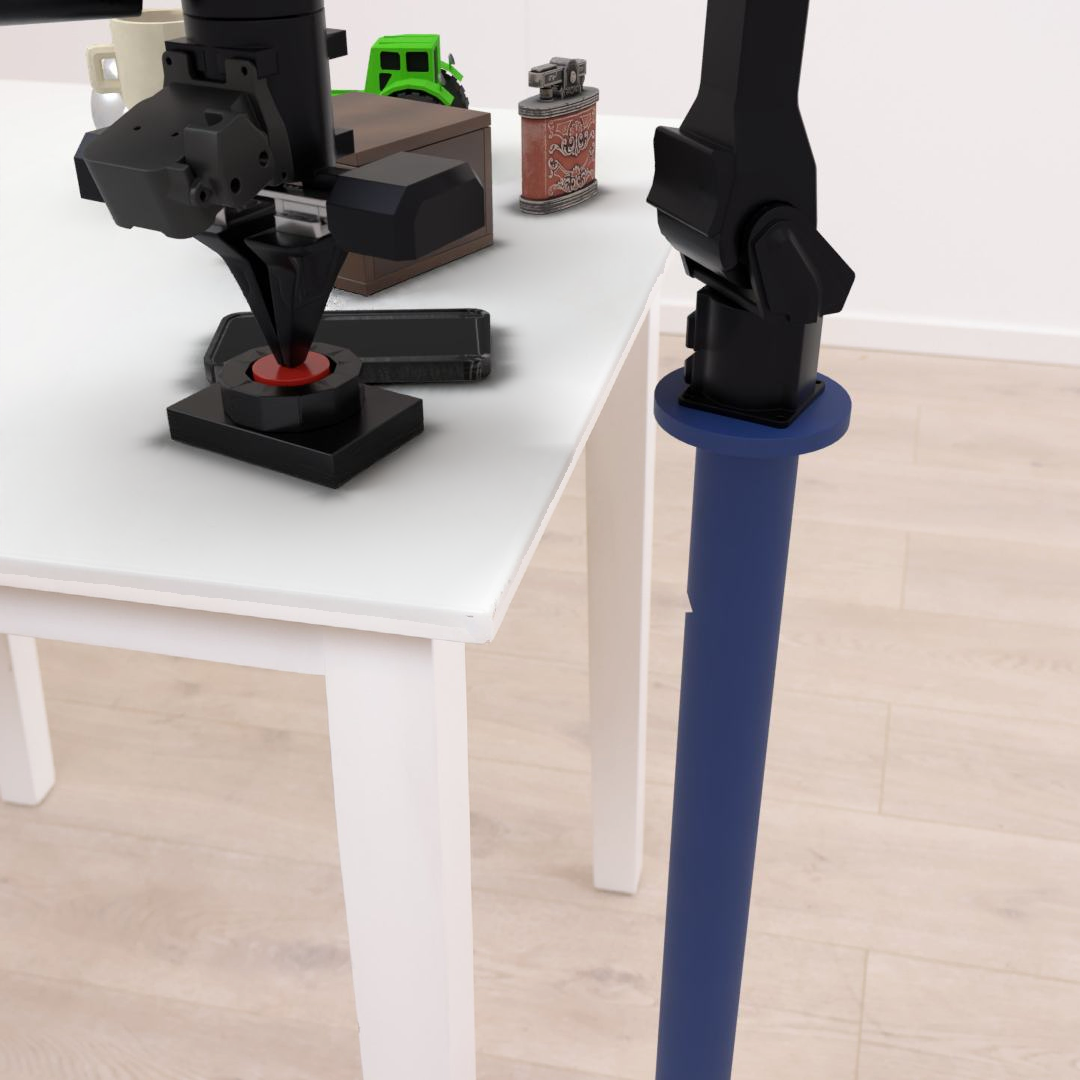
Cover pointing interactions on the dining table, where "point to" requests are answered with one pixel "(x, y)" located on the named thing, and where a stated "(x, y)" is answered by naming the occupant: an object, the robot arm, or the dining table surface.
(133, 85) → the cream and green trophy
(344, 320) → the phone
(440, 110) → the lid
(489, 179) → the chest
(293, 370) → the button
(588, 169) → the lighter
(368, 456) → the button base
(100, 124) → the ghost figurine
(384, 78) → the toy tractor
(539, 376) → the dining table surface
